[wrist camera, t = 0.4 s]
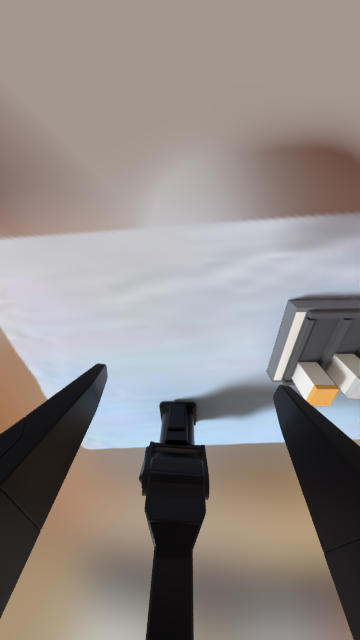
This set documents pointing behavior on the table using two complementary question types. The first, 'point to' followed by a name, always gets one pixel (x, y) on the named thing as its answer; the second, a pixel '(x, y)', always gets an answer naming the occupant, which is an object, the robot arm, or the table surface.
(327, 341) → the panel
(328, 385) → the fader orange
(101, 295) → the table surface
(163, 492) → the robot arm
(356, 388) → the block
